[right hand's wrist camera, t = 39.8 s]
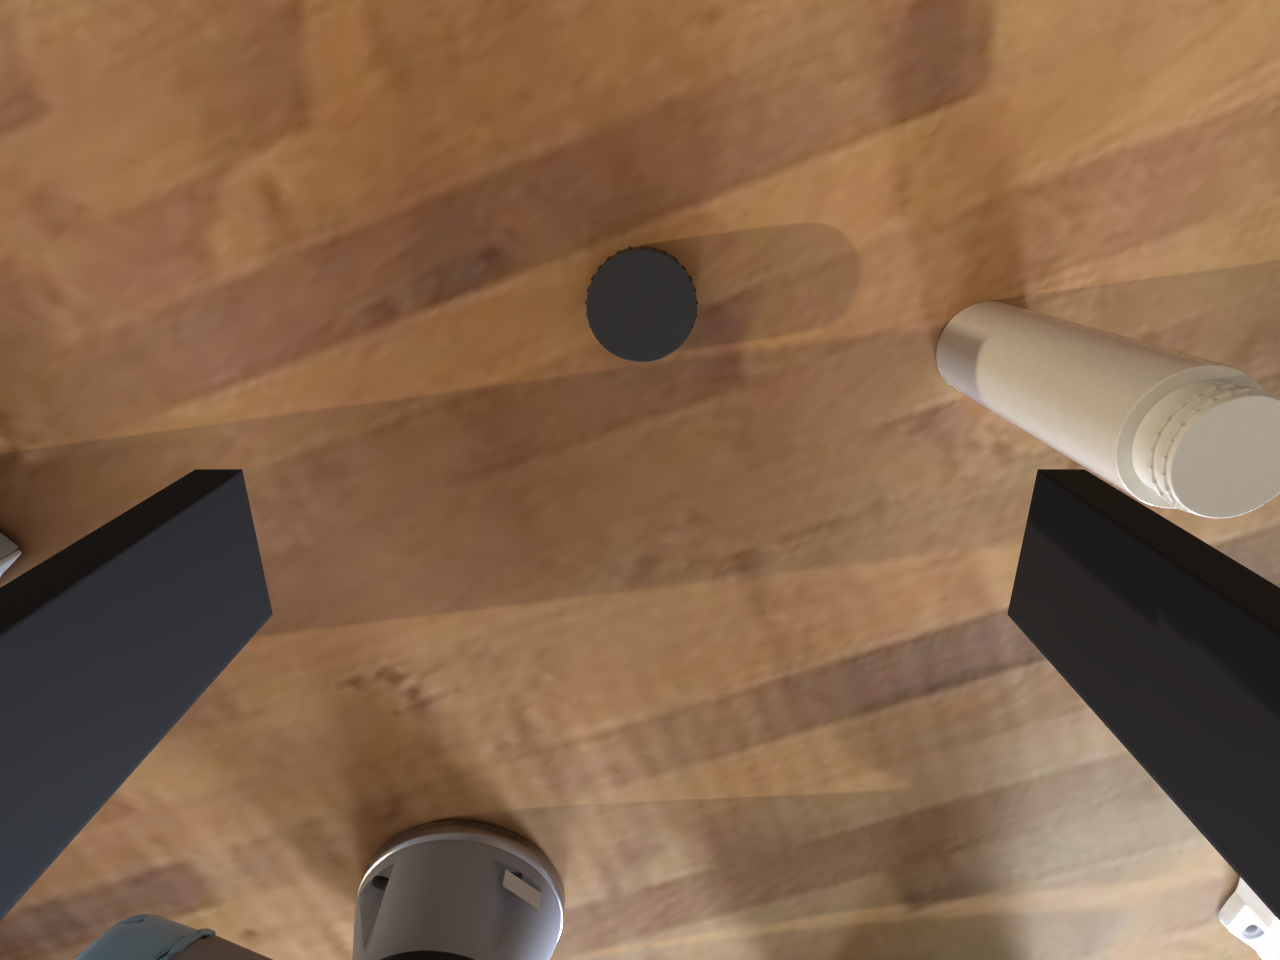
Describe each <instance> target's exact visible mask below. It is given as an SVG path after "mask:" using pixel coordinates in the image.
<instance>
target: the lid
mask: <svg viewBox="0 0 1280 960" xmlns="http://www.w3.org/2000/svg"><path fill="white" fill-rule="evenodd" d="M685 270H686V269H685V267H684V266H681V265H680V264H679V262H678V261H677V259H676V258H675V257H674V258H673V257H672V256H670V255H668V254H667V252H666V251H664V252H663V251H660V250H658V249H655V247H653V248H649V247H643V245H641V247H634V248H631V246H630V247H629V249H625V250H623V251H620V250H619V251H617V253H616V254H615V255H613V256H611V257H608V258H607V261H605V263H604V264H603V265H602V266H601V265H600V266H599V267H598V271H597V273H596V275H593V277H592V278H591V280H592V282H591V284H590V286H589V287H588V289H587V292H588V294H587V300H586V302H585V304H586V311H587V313H586V316H587V317H588V321H589V325H590V328H591V329H592V332H593V333H594V335H595V337H596V338H597V340H598V341H599V342H600V343H601V345H603V347H605V348H606V349H607V350H608V351H609V352H611V353H612V354H614V355H616V356H618V357H620V358H622V359H625V360H629V361H634V362H649V361H654V360H658V359H661V358H663V357H666V356H667V355H669V354H671V353H672V352H674V351H675V350H676V349H678V348H679V347H680V346H681V345H682V344H683V342H684V341H685V340H686V339H687V337H688V335H689V334H690V332H691V330H692V328H693V325H694V322H695V318H696V316H697V314H696V312H697V304H698V302H697V300H696V294H695V292H696V289H695V288H694V287H693V284H692V278H691V277H690V275H689V276H688V274H687V273H686V271H685Z"/></svg>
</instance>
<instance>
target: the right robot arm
mask: <svg viewBox="0 0 1280 960" xmlns="http://www.w3.org/2000/svg"><path fill="white" fill-rule="evenodd" d="M271 616H272V610H271V605H270V600H269V595H268V591H267V586H266V581H265V576H264V572H263V567H262V562H261V557H260V553H259V548H258V543H257V538H256V534H255V529H254V524H253V519H252V515H251V510H250V505H249V500H248V495H247V491H246V486H245V481H244V476H243V472H242V470H194V471H192V472H191V473H189V474H187V475H186V476H184V477H182V478H181V479H179V480H178V481H176V482H174V483H173V484H171V485H169V486H168V487H166V488H164V489H163V490H161V491H159V492H158V493H156V494H154V495H153V496H151V497H150V498H148V499H146V500H145V501H143V502H141V503H140V504H138V505H136V506H135V507H133V508H131V509H130V510H128V511H126V512H125V513H123V514H121V515H120V516H118V517H117V518H115V519H113V520H112V521H110V522H108V523H107V524H105V525H103V526H102V527H100V528H98V529H97V530H95V531H93V532H92V533H90V534H88V535H87V536H85V537H84V538H82V539H80V540H79V541H77V542H75V543H74V544H72V545H70V546H69V547H67V548H65V549H64V550H62V551H60V552H59V553H57V554H55V555H54V556H52V557H51V558H49V559H47V560H46V561H44V562H42V563H41V564H39V565H37V566H36V567H34V568H32V569H31V570H29V571H27V572H26V573H24V574H22V575H21V576H19V577H18V578H16V579H14V580H13V581H11V582H9V583H8V584H6V585H4V586H3V587H1V588H0V921H1V920H2V919H3V918H4V916H5V915H6V914H7V913H8V912H9V911H10V910H11V909H12V907H13V906H14V905H15V904H16V903H17V902H18V901H19V900H20V898H21V897H22V896H23V895H24V894H25V893H26V892H27V891H28V889H29V888H30V887H31V886H32V885H33V884H34V883H35V882H36V880H37V879H38V878H39V877H40V876H41V875H42V874H43V873H44V871H45V870H46V869H47V868H48V867H49V866H50V865H51V864H52V862H53V861H54V860H55V859H56V858H57V857H58V856H59V854H60V853H61V852H62V851H63V850H64V849H65V848H66V847H67V845H68V844H69V843H70V842H71V841H72V840H73V839H74V838H75V836H76V835H77V834H78V833H79V832H80V831H81V830H82V829H83V827H84V826H85V825H86V824H87V823H88V822H89V821H90V820H91V818H92V817H93V816H94V815H95V814H96V813H97V812H98V811H99V809H100V808H101V807H102V806H103V805H104V804H105V803H106V802H107V800H108V799H109V798H110V797H111V796H112V795H113V794H114V792H115V791H116V790H117V789H118V788H119V787H120V786H121V785H122V783H123V782H124V781H125V780H126V779H127V778H128V777H129V776H130V774H131V773H132V772H133V771H134V770H135V769H136V768H137V767H138V765H139V764H140V763H141V762H142V761H143V760H144V759H145V758H146V756H147V755H148V754H149V753H150V752H151V751H152V750H153V749H154V747H155V746H156V745H157V744H158V743H159V742H160V741H161V740H162V738H163V737H164V736H165V735H166V734H167V733H168V732H169V730H170V729H171V728H172V727H173V726H174V725H175V724H176V723H177V721H178V720H179V719H180V718H181V717H182V716H183V715H184V714H185V712H186V711H187V710H188V709H189V708H190V707H191V706H192V705H193V703H194V702H195V701H196V700H197V699H198V698H199V697H200V696H201V694H202V693H203V692H204V691H205V690H206V689H207V688H208V687H209V685H210V684H211V683H212V682H213V681H214V680H215V679H216V678H217V676H218V675H219V674H220V673H221V672H222V671H223V670H224V668H225V667H226V666H227V665H228V664H229V663H230V662H231V661H232V659H233V658H234V657H235V656H236V655H237V654H238V653H239V652H240V650H241V649H242V648H243V647H244V646H245V645H246V644H247V643H248V641H249V640H250V639H251V638H252V637H253V636H254V635H255V634H256V632H257V631H258V630H259V629H260V628H261V627H262V626H263V625H264V623H265V622H266V621H267V620H268V619H269V618H270V617H271ZM1008 616H1009V617H1010V618H1011V619H1012V620H1013V621H1014V622H1015V623H1016V625H1017V626H1018V627H1019V628H1020V629H1021V630H1022V631H1023V632H1024V634H1025V635H1026V636H1027V637H1028V638H1029V639H1030V640H1031V641H1032V643H1033V644H1034V645H1035V646H1036V647H1037V648H1038V649H1039V650H1040V652H1041V653H1042V654H1043V655H1044V656H1045V657H1046V658H1047V659H1048V661H1049V662H1050V663H1051V664H1052V665H1053V666H1054V667H1055V668H1056V670H1057V671H1058V672H1059V673H1060V674H1061V675H1062V676H1063V678H1064V679H1065V680H1066V681H1067V682H1068V683H1069V684H1070V685H1071V687H1072V688H1073V689H1074V690H1075V691H1076V692H1077V693H1078V694H1079V696H1080V697H1081V698H1082V699H1083V700H1084V701H1085V702H1086V703H1087V705H1088V706H1089V707H1090V708H1091V709H1092V710H1093V711H1094V712H1095V714H1096V715H1097V716H1098V717H1099V718H1100V719H1101V720H1102V721H1103V723H1104V724H1105V725H1106V726H1107V727H1108V728H1109V729H1110V730H1111V732H1112V733H1113V734H1114V735H1115V736H1116V737H1117V738H1118V740H1119V741H1120V742H1121V743H1122V744H1123V745H1124V746H1125V747H1126V749H1127V750H1128V751H1129V752H1130V753H1131V754H1132V755H1133V756H1134V758H1135V759H1136V760H1137V761H1138V762H1139V763H1140V764H1141V765H1142V767H1143V768H1144V769H1145V770H1146V771H1147V772H1148V773H1149V774H1150V776H1151V777H1152V778H1153V779H1154V780H1155V781H1156V782H1157V783H1158V785H1159V786H1160V787H1161V788H1162V789H1163V790H1164V791H1165V792H1166V794H1167V795H1168V796H1169V797H1170V798H1171V799H1172V800H1173V802H1174V803H1175V804H1176V805H1177V806H1178V807H1179V808H1180V809H1181V811H1182V812H1183V813H1184V814H1185V815H1186V816H1187V817H1188V818H1189V820H1190V821H1191V822H1192V823H1193V824H1194V825H1195V826H1196V827H1197V829H1198V830H1199V831H1200V832H1201V833H1202V834H1203V835H1204V836H1205V838H1206V839H1207V840H1208V841H1209V842H1210V843H1211V844H1212V845H1213V847H1214V848H1215V849H1216V850H1217V851H1218V852H1219V853H1220V854H1221V856H1222V857H1223V858H1224V859H1225V860H1226V861H1227V862H1228V864H1229V865H1230V866H1231V867H1232V868H1233V869H1234V870H1235V871H1236V873H1237V874H1238V875H1239V876H1240V877H1241V878H1242V879H1243V880H1244V882H1245V883H1246V884H1247V885H1248V886H1249V887H1250V888H1251V889H1252V891H1253V892H1254V893H1255V894H1256V895H1257V896H1258V897H1259V898H1260V900H1261V901H1262V902H1263V903H1264V904H1265V905H1266V906H1267V907H1268V909H1269V910H1270V911H1271V912H1272V913H1273V914H1274V915H1275V916H1276V918H1277V919H1278V920H1279V921H1280V588H1279V587H1277V586H1276V585H1274V584H1272V583H1271V582H1269V581H1267V580H1266V579H1264V578H1262V577H1261V576H1259V575H1258V574H1256V573H1254V572H1253V571H1251V570H1249V569H1248V568H1246V567H1244V566H1243V565H1241V564H1239V563H1238V562H1236V561H1234V560H1233V559H1231V558H1229V557H1228V556H1226V555H1225V554H1223V553H1221V552H1220V551H1218V550H1216V549H1215V548H1213V547H1211V546H1210V545H1208V544H1206V543H1205V542H1203V541H1201V540H1200V539H1198V538H1196V537H1195V536H1193V535H1192V534H1190V533H1188V532H1187V531H1185V530H1183V529H1182V528H1180V527H1178V526H1177V525H1175V524H1173V523H1172V522H1170V521H1168V520H1167V519H1165V518H1163V517H1162V516H1160V515H1159V514H1157V513H1155V512H1154V511H1152V510H1150V509H1149V508H1147V507H1145V506H1144V505H1142V504H1140V503H1139V502H1137V501H1135V500H1134V499H1132V498H1130V497H1129V496H1127V495H1126V494H1124V493H1122V492H1121V491H1119V490H1117V489H1116V488H1114V487H1112V486H1111V485H1109V484H1107V483H1106V482H1104V481H1102V480H1101V479H1099V478H1098V477H1096V476H1094V475H1093V474H1091V473H1089V472H1088V471H1086V470H1038V472H1037V476H1036V481H1035V486H1034V491H1033V495H1032V500H1031V505H1030V510H1029V515H1028V519H1027V524H1026V529H1025V534H1024V538H1023V543H1022V548H1021V553H1020V557H1019V562H1018V567H1017V572H1016V576H1015V581H1014V586H1013V591H1012V595H1011V600H1010V605H1009V610H1008ZM564 902H565V898H564V889H563V885H562V882H561V879H560V877H559V874H558V872H557V871H556V869H555V867H554V866H553V864H552V863H551V862H550V860H549V859H548V858H547V857H546V856H545V855H544V854H543V853H542V852H541V851H540V850H539V849H538V848H536V847H535V846H534V845H533V844H531V843H530V842H528V841H527V840H525V839H524V838H522V837H520V836H518V835H516V834H514V833H512V832H510V831H507V830H505V829H502V828H499V827H496V826H493V825H489V824H484V823H480V822H473V821H461V820H449V821H438V822H432V823H427V824H423V825H419V826H416V827H413V828H410V829H408V830H406V831H404V832H402V833H400V834H398V835H396V836H394V837H393V838H392V839H390V840H389V841H387V842H386V843H385V844H384V845H383V846H382V847H381V848H380V849H379V850H378V851H377V852H376V853H375V855H374V856H373V858H372V859H371V861H370V863H369V865H368V867H367V870H366V872H365V874H364V877H363V879H362V882H361V884H360V887H359V890H358V893H357V897H356V906H355V922H354V942H353V960H550V958H551V955H552V953H553V951H554V949H555V947H556V944H557V941H558V939H559V936H560V934H561V929H562V922H563V913H564ZM75 960H272V959H270V958H267V957H265V956H263V955H260V954H258V953H256V952H253V951H251V950H248V949H246V948H244V947H241V946H239V945H237V944H234V943H232V942H230V941H227V940H225V939H223V938H220V937H218V936H216V935H215V931H213V930H211V929H200V930H197V929H194V928H191V927H188V926H185V925H183V924H180V923H177V922H174V921H171V920H168V919H165V918H163V917H160V916H156V915H151V914H141V915H136V916H132V917H129V918H127V919H125V920H122V921H120V922H119V923H117V924H115V925H114V926H112V927H111V928H109V929H108V930H107V931H105V932H104V933H103V934H102V935H100V936H99V937H98V938H97V939H96V940H94V941H93V942H92V943H91V944H90V945H89V946H88V947H87V948H86V949H85V950H84V951H83V952H82V953H81V954H80V955H79V956H78V957H77V958H76V959H75Z"/></svg>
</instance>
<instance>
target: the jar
mask: <svg viewBox="0 0 1280 960" xmlns="http://www.w3.org/2000/svg"><path fill="white" fill-rule="evenodd" d="M936 360H937V366H938V369H939V372H940V374H941V376H942V378H943V379H944V380H945V382H946V383H947V384H948V385H949V386H951V387H952V388H953V389H955V390H957V391H958V392H960V393H962V394H963V395H965V396H967V397H968V398H970V399H972V400H973V401H975V402H977V403H978V404H980V405H982V406H983V407H985V408H987V409H988V410H990V411H992V412H993V413H995V414H997V415H998V416H1000V417H1002V418H1003V419H1005V420H1007V421H1008V422H1010V423H1012V424H1013V425H1015V426H1017V427H1018V428H1020V429H1022V430H1023V431H1025V432H1027V433H1028V434H1030V435H1032V436H1033V437H1035V438H1037V439H1038V440H1040V441H1041V442H1043V443H1045V444H1046V445H1048V446H1050V447H1051V448H1053V449H1055V450H1056V451H1058V452H1060V453H1061V454H1063V455H1065V456H1066V457H1068V458H1070V459H1071V460H1073V461H1075V462H1076V463H1078V464H1080V465H1081V466H1083V467H1085V468H1086V469H1088V470H1090V471H1091V472H1093V473H1095V474H1096V475H1098V476H1100V477H1101V478H1103V479H1105V480H1106V481H1108V482H1110V483H1111V484H1113V485H1115V486H1116V487H1118V488H1120V489H1121V490H1123V491H1125V492H1126V493H1128V494H1130V495H1131V496H1133V497H1135V498H1136V499H1138V500H1140V501H1142V502H1144V503H1146V504H1149V505H1152V506H1155V507H1161V508H1178V509H1181V510H1183V511H1186V512H1189V513H1194V514H1196V515H1199V516H1202V517H1208V518H1229V517H1234V516H1238V515H1242V514H1245V513H1248V512H1250V511H1253V510H1255V509H1257V508H1258V507H1260V506H1262V505H1264V504H1265V503H1267V502H1268V501H1270V500H1271V499H1272V498H1274V497H1275V496H1276V495H1277V494H1278V493H1279V492H1280V396H1278V395H1276V394H1274V393H1271V392H1269V391H1267V390H1264V389H1263V388H1262V387H1261V385H1260V384H1259V383H1258V382H1257V381H1256V380H1255V379H1254V378H1253V377H1251V376H1250V375H1249V374H1247V373H1245V372H1244V371H1242V370H1240V369H1237V368H1234V367H1231V366H1227V365H1224V364H1220V363H1217V362H1213V361H1210V360H1206V359H1203V358H1199V357H1195V356H1192V355H1188V354H1185V353H1181V352H1178V351H1174V350H1171V349H1167V348H1164V347H1160V346H1156V345H1153V344H1149V343H1146V342H1142V341H1139V340H1135V339H1132V338H1128V337H1124V336H1121V335H1117V334H1114V333H1110V332H1107V331H1103V330H1100V329H1096V328H1092V327H1089V326H1085V325H1082V324H1078V323H1075V322H1071V321H1068V320H1064V319H1060V318H1057V317H1053V316H1050V315H1046V314H1043V313H1039V312H1036V311H1032V310H1029V309H1025V308H1021V307H1018V306H1014V305H1011V304H1007V303H1004V302H999V301H985V302H980V303H976V304H974V305H971V306H969V307H967V308H965V309H964V310H962V311H960V312H959V313H958V314H957V315H955V316H954V317H953V318H952V319H951V320H950V322H949V323H948V324H947V325H946V327H945V328H944V330H943V332H942V334H941V336H940V338H939V341H938V345H937V351H936Z"/></svg>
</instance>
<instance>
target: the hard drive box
mask: <svg viewBox="0 0 1280 960" xmlns="http://www.w3.org/2000/svg"><path fill="white" fill-rule="evenodd" d="M21 553H22V552H21V551H19V550H18V545H16V544H15V543H13V542H12V541H10V540H9V539H8V538H7V537H6V536H4V535H3V534H2V533H0V577H1V575H2V574H3V573H4V572H5V571H6V570H7V569H8V568H9V567H10V566H11V565H12V564H13V563H14V561H15V560H16V559H17V558H18V557H19V556H20V555H21Z"/></svg>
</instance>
